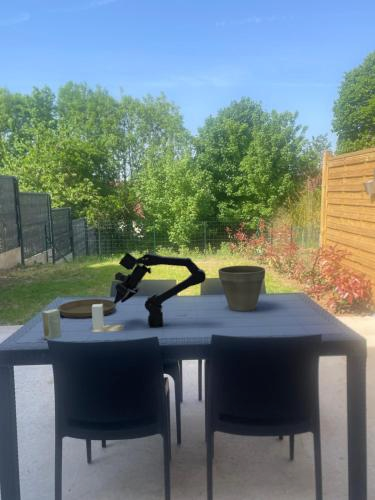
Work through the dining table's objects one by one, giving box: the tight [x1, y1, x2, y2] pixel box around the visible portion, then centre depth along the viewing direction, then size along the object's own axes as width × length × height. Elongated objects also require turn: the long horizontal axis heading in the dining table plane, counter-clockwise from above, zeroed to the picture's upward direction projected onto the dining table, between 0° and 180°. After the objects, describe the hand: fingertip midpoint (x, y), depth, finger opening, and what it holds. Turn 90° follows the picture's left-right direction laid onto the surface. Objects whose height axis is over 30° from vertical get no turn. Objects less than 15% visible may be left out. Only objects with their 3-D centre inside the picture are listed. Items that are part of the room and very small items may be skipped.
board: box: [91, 324, 126, 333], centre depth 199 cm, size 14×10×1 cm
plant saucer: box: [57, 298, 117, 319], centre depth 233 cm, size 31×31×5 cm
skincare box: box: [42, 308, 62, 340], centre depth 188 cm, size 6×4×12 cm
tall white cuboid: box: [91, 304, 105, 330], centre depth 201 cm, size 4×6×10 cm
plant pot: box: [218, 265, 266, 312], centre depth 231 cm, size 25×25×22 cm
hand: (118, 302), depth 202 cm, fingers open, 9 cm apart
